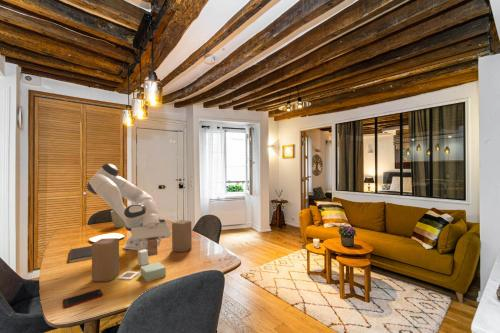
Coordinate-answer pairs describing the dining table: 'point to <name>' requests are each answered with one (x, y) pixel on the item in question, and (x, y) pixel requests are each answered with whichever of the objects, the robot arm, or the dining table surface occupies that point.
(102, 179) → the robot arm
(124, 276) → the card
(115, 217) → the plant pot
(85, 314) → the dining table surface
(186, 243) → the block
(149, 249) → the walnut block
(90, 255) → the hardcover book
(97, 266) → the wooden block
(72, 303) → the cell phone
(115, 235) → the plate
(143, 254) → the off-white block
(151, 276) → the base block
